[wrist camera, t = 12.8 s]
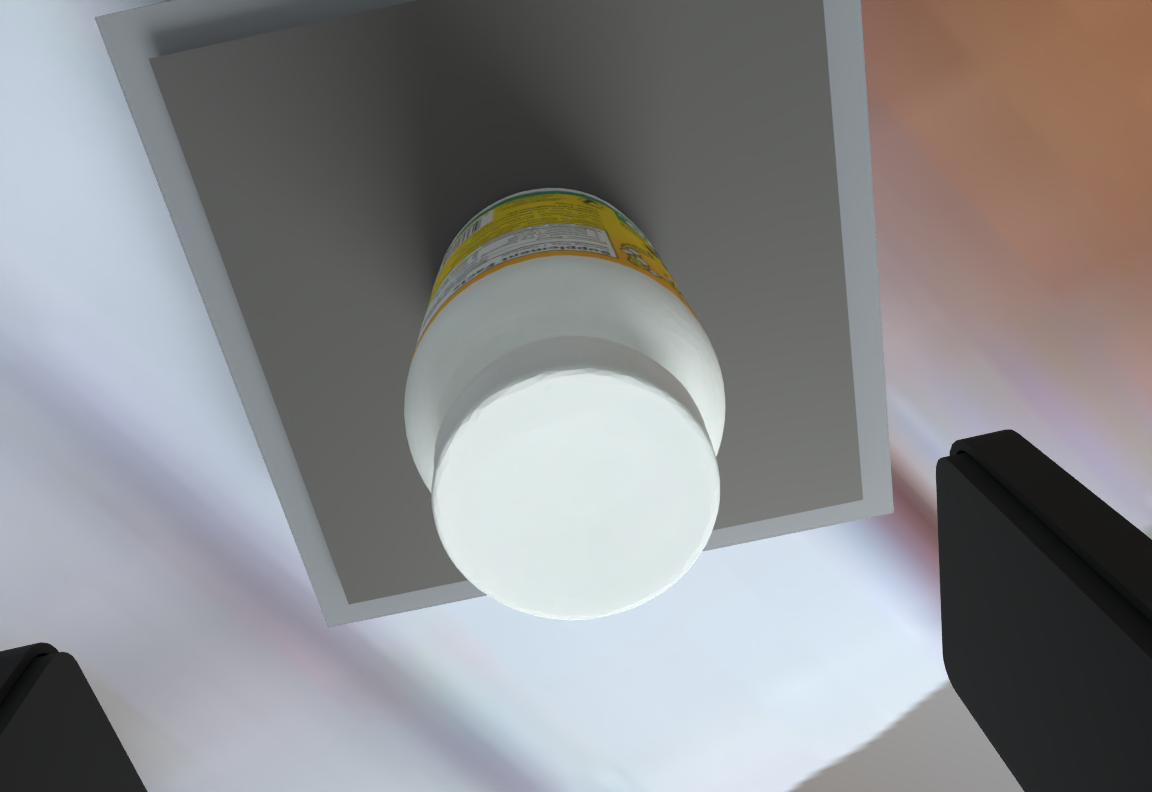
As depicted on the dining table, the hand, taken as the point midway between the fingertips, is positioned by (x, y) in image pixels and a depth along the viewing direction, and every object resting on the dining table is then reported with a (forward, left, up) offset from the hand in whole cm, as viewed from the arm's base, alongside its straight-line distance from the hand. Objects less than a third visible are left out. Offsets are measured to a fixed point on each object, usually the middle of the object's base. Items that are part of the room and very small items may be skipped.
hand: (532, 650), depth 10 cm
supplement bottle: (0, +1, -13) cm, 13 cm away
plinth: (0, +1, -18) cm, 17 cm away
